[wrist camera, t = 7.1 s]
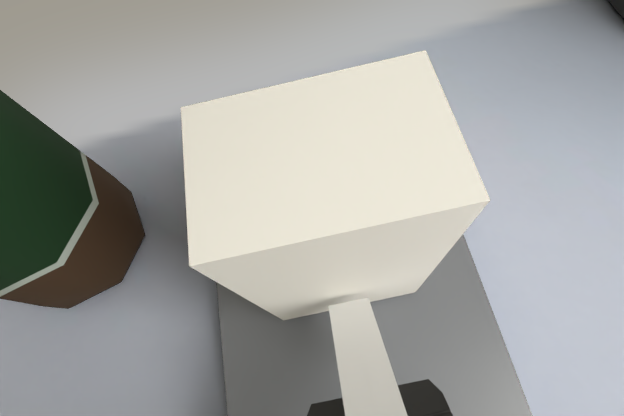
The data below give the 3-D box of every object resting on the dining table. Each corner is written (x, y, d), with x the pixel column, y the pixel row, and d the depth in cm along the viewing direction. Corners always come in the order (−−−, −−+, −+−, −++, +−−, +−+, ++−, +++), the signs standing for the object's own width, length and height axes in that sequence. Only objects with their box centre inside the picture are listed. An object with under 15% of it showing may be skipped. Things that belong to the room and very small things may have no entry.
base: (403, 103, 22) (406, 86, 21) (519, 417, 15) (535, 422, 14) (213, 146, 23) (203, 133, 21) (243, 472, 16) (233, 483, 14)
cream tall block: (390, 211, 18) (425, 50, 9) (415, 292, 16) (490, 200, 7) (270, 237, 18) (180, 107, 9) (283, 320, 16) (188, 266, 7)
